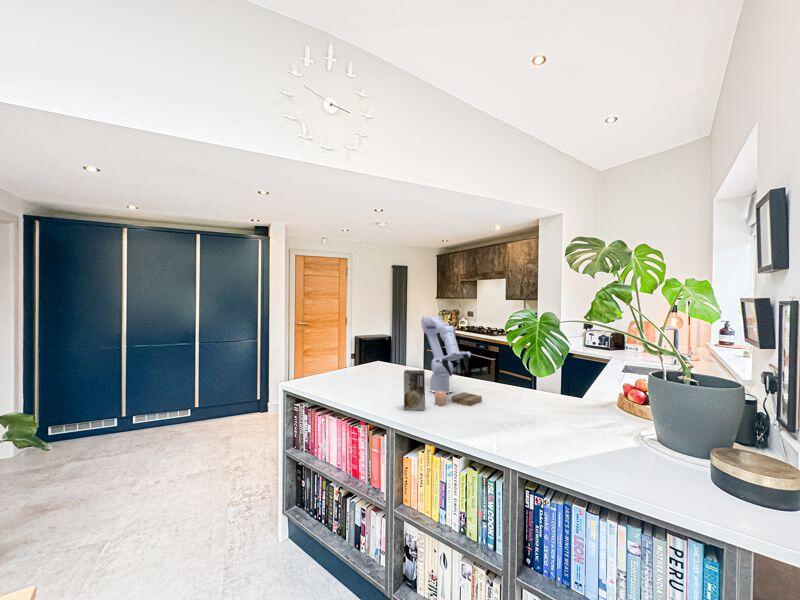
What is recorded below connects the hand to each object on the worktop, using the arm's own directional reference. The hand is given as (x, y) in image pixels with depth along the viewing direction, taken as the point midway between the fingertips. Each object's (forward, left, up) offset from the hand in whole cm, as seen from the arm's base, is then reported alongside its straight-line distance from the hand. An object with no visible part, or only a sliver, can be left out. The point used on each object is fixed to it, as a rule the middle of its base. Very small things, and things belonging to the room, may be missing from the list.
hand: (459, 373), depth 159 cm
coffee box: (-11, -18, -14) cm, 25 cm away
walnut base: (0, +6, -14) cm, 16 cm away
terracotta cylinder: (-6, -6, -14) cm, 16 cm away
